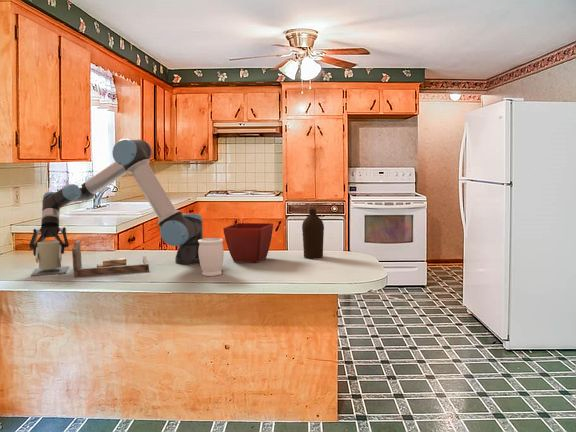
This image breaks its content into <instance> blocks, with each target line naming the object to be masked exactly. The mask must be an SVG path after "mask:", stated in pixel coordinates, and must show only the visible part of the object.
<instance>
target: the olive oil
mask: <svg viewBox="0 0 576 432" xmlns="http://www.w3.org/2000/svg"><path fill="white" fill-rule="evenodd" d="M308 212H309V214H308V215H307V217H306V218H304V220H303V222H302V224H301V231H302V232H301V233H302V245H303V258H304V259H307V260H308V259H309V260H317V259H322V258H324V234H325V225H324V221H323V220H322V219H321V218H320V216H319V215H318V214H317V206H315V205H314V206H309V211H308Z"/></svg>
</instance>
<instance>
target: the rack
mask: <svg viewBox="0 0 576 432" xmlns="http://www.w3.org/2000/svg"><path fill="white" fill-rule="evenodd" d="M81 247H82V246H81V240H78V239H77V240H76V241H75V243H74V245H73V247H72V249H71V251H72V254H71V255H72V267H73V278H78V277H91V276H103V275H115V274H125V273H128V274H129V273H139V272H149V271H150V268H149V265H150V264H149V261H148V260H147V256H142V262H143V263H138V264H126V265H124V266H111V267H98V268H97V267H88V268H82V250H81V249H82V248H81Z"/></svg>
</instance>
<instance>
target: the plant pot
mask: <svg viewBox="0 0 576 432" xmlns="http://www.w3.org/2000/svg"><path fill="white" fill-rule="evenodd" d="M273 228H274V223H271V222H270V223H269V222H267V223H265V222H263V223H262V222H261V223H260V222H257V223H256V222H255V223H254V222H238V223H234V224H231V225H229V226H226V227H225V226H224V227H223V234H224V239H225V243H226V245H227V248H228V251H229V254H230V257H231V259H232V261H233V262H234V263H259V262H261V261H263V260H265V259H266V258H267V256H268V253H269V250H270V247H271V246H270V245H271V243H272V242H271V241H272V236H273V231H274V230H273Z"/></svg>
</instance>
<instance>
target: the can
mask: <svg viewBox="0 0 576 432" xmlns="http://www.w3.org/2000/svg"><path fill="white" fill-rule="evenodd" d="M59 242H60V241H57V240H56V239H55V240H44V241H42V242H38V243H37V246H38V258H39V259H38V269H42V270H48V269H56V268H60V267H62V263H61V262H62V260H61V261H60V260H59V247H60V245H59Z"/></svg>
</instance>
